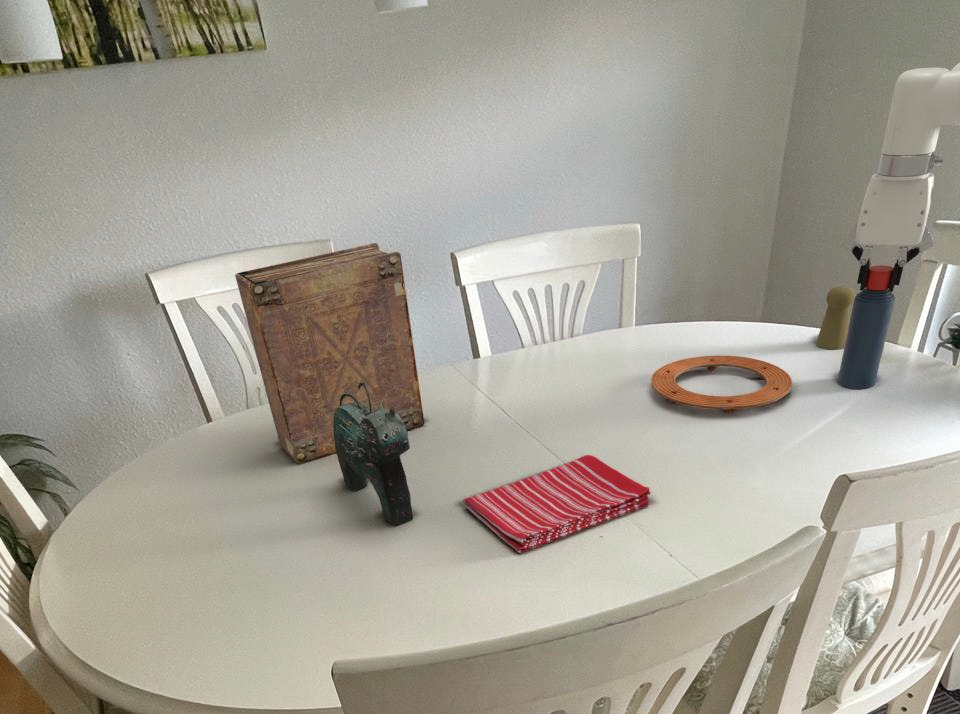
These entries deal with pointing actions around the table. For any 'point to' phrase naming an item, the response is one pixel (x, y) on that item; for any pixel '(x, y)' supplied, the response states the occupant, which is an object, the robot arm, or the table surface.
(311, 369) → the book
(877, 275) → the cap
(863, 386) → the bottle
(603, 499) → the dish towel
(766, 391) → the ring
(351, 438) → the dark green carved figure
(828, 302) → the olive pawn figure
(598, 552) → the table surface
